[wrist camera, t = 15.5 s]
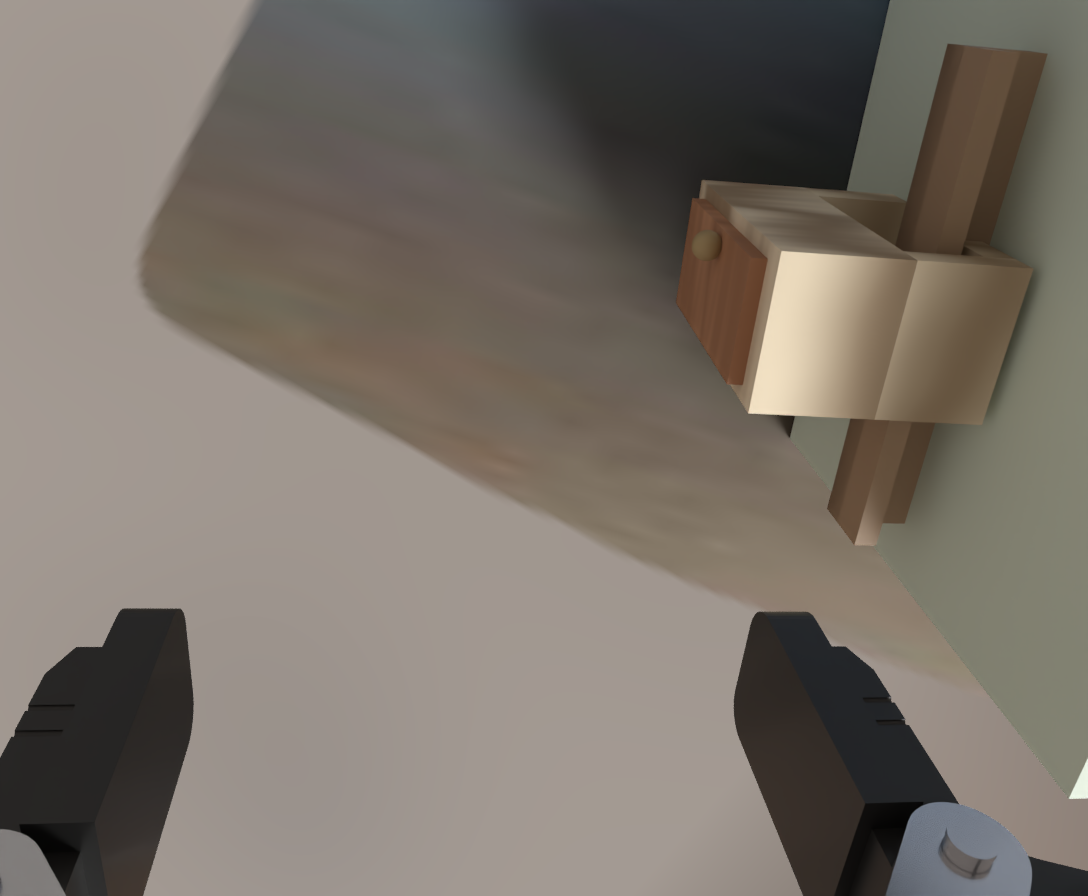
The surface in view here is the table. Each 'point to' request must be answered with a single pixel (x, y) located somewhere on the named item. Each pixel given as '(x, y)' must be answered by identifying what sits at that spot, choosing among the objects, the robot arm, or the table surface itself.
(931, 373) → the wall cabinet
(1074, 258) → the wall board
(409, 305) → the table surface
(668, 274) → the table surface
